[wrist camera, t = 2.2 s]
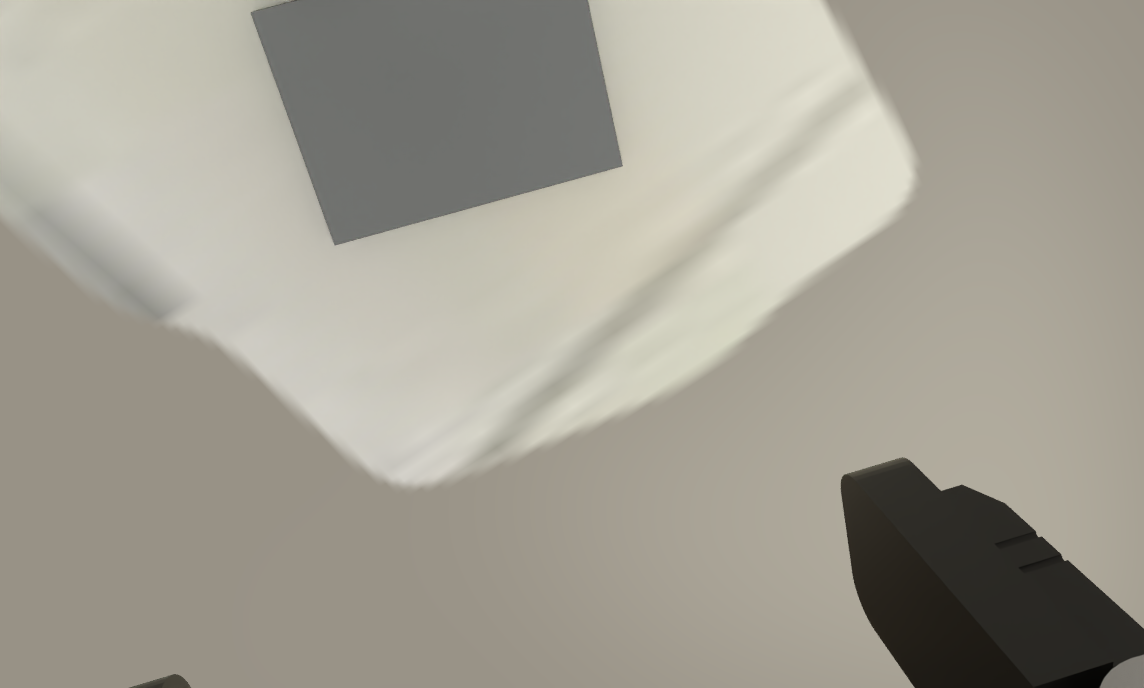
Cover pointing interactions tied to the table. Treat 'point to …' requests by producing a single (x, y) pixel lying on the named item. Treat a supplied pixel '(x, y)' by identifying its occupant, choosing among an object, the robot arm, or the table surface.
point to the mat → (437, 103)
